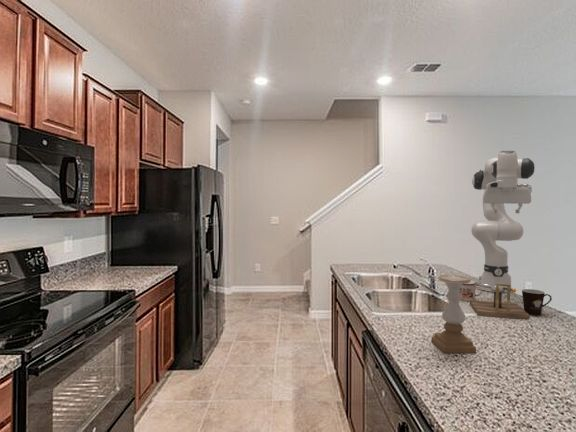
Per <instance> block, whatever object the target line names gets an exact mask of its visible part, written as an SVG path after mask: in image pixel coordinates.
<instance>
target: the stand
mask: <svg viewBox="0 0 576 432" xmlns="http://www.w3.org/2000/svg"><path fill="white" fill-rule="evenodd" d="M499 286H507V292H506V302H504V301H503V299H502V298H503V297H502V295H503V293H502V292H499ZM510 287H511V288H512V284H511V285H510V284H496V292H493V301H489V300H476V299H475V300H470V301H469V305H470V307H471V306H472V307H471V308H472V310H473V309H474V310H475V311H474V310H473V311H474V313H475V312H476V313H477V314H476V313H475V314H476V315H477V316H479V317H490V318H502V319H503V318H505V319H515V320H516V319H517V320H518V319H519V320H530V315H529V314H528V313H527V312H526V311H524V308H522V307H521V306H520V305H519V304H517V302H511V292H510Z"/></svg>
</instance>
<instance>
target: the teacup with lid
mask: <svg viewBox="0 0 576 432" xmlns="http://www.w3.org/2000/svg"><path fill="white" fill-rule="evenodd" d="M464 277H467V276H464ZM474 282H475V281H474V280H472V279H471V281H470V283H465V284H463V285H462V287H461V288H460V294H461V296H462V299H461V300H460V302H461V301H463V302H470V300H476V297H479V296H481V295H482V294H483V290H482V288H481V287H479V286H476V285H474ZM477 288H480V289H479V290H480V292H479V293H478V294H476V289H477Z"/></svg>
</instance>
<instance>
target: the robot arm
mask: <svg viewBox="0 0 576 432" xmlns="http://www.w3.org/2000/svg"><path fill="white" fill-rule="evenodd" d="M534 173H535V163H534V161H533V160H532V159H530V157H529V158H528V157H527V158H518V154H517V151H514V150H502V151H499V152H498V154H497V157H492V158H489V159H488V160H487V161H486V162H485V164H484V170H483V169H479V171H478V172H475V173H474V174H473V175H472V179H471V184H472V187H473V188H474V189H475V190H479V191H481V190H483V191H484V193H483V195H482V210H483V215H484V216H483V217H485V219H486V220H482V221H481V220H480V221H475V222H474V223H473V224H472V225H471V234H472V236H473V238H475V239H476V240H477V241H478V242H479V243H480V245H482V247H483V250H484V264H483V270H484V271H483V273H482V274H481V275H479V276H478V281H479V283H483V284H488V285H493V284H510V285H511V287H510V289H513V287H512V276H511V275H510V274H509V265H508V257H509V256H508V251H507V250H506V249H505V248H503V247H502V246H499V245H497V242H498V241H500V242H501V241H502V242H503V241H504V242H506V241H507V242H511V241H512V242H513V241H518V240H521V238H522V237H523V235H524V228H523V227H524V226H523V225H522V224H521V223H520V222H518V221H516V220H514V219H513V218H511V217H510V216H509V215H508V214H507V211H506V208H505V204H510V205H511V204H513V205H514V204H518V205H517V206H518V208H517V209H515V210H514V211H515V214H520V211H521V209H522V207H523V205H525V204H528V205H529V204H530V203H531V202H532V194H531V193H532V192H533V190H532V189H533V188H532V186H531V185H530V184H527V183H524V184H523V183H522V184H520V183H519V184H518V180H519V179H523V180H528V179H529V178H530V177H532V176H533V175H534ZM479 287H481V286H479ZM481 288H482V291H486V292H492V293H494V291H491V289H490V288H485V287H481ZM505 288H507V286H505ZM476 289H477V290H481V289H480V288H476ZM511 292H512V291H510V293H511ZM504 293H507V290H505V292H502V294H504Z"/></svg>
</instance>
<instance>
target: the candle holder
mask: <svg viewBox="0 0 576 432" xmlns="http://www.w3.org/2000/svg"><path fill="white" fill-rule="evenodd" d="M471 280H472V279H471V278H470V277H469V276H466V277H465V276H462V275H454V274H453V275H452V274H447V275H446V274H444V275H439V276H438V281H440V282H442V283H443V282H444V283H445V285H446V287H447V288H448V291H447V293H446V295H445V297H446V299H447V301H448V303H447V305H446V307H445V309H444V310H443V311H442V314H441V318H442V320H443V321H445V323H444V325H443V328H444V330H443V331H442V332H435V333H434V334H433V336H431V343H432V344H433V345H434V346H435V347H436V348H438V349H439V350H440V351H441V352H442V353H444V354H476V353H477V347H476V346H475V345H474V342H473V341H472V340H471V339H469V338H468V336H466V335H465V334H464V333H463V331H464V327H463V323H464V322H465V320H466V315H465V312H464V311H463V309H462V307H461V305H460V303H461V299H462V296H461V294H460V288H461V287H462V285H463V284H465V283H470V281H471Z"/></svg>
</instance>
